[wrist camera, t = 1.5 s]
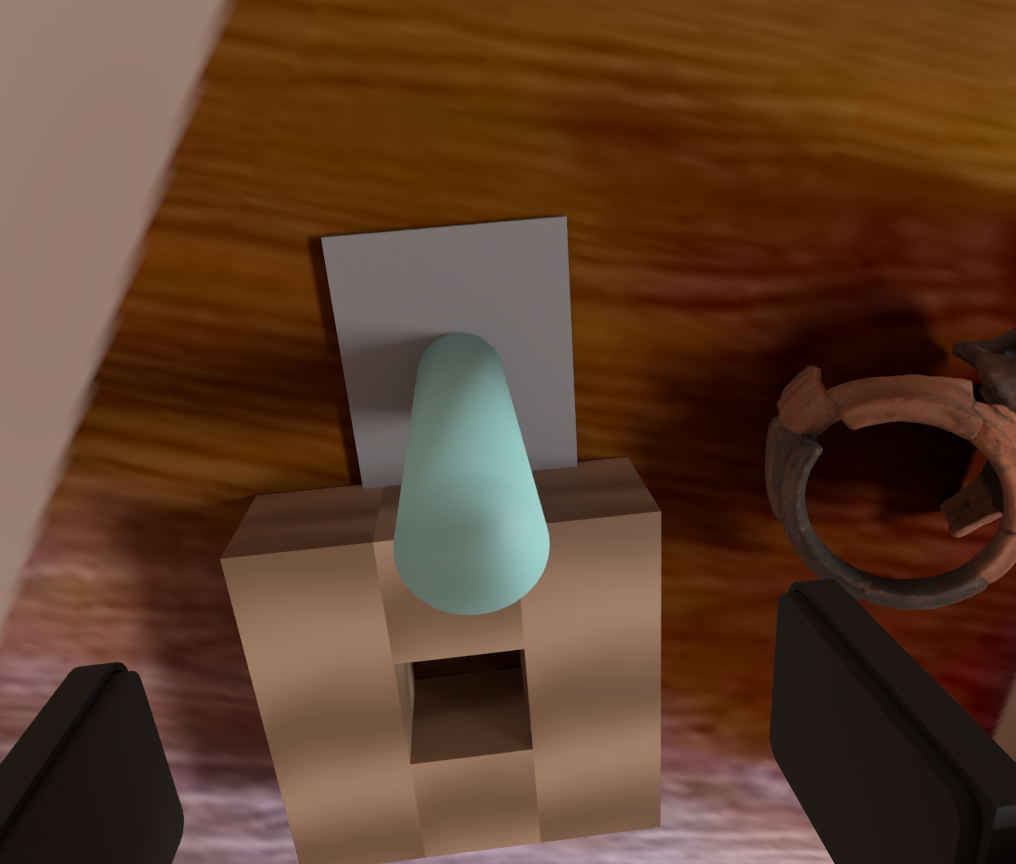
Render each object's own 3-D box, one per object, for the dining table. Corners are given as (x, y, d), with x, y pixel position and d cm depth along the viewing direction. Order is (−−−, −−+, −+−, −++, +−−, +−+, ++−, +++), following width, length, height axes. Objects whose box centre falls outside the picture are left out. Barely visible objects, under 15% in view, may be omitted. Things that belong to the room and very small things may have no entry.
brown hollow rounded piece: (913, 567, 30) (924, 686, 24) (731, 435, 32) (692, 510, 25) (1173, 348, 24) (1293, 423, 17) (932, 198, 26) (953, 212, 19)
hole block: (256, 495, 26) (220, 558, 22) (627, 456, 27) (661, 511, 23) (321, 778, 31) (302, 873, 27) (632, 739, 32) (660, 826, 28)
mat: (323, 236, 23) (321, 237, 23) (564, 215, 23) (566, 216, 23) (368, 508, 27) (367, 512, 26) (576, 485, 27) (578, 490, 27)
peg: (412, 336, 24) (382, 487, 13) (499, 328, 24) (545, 469, 13) (422, 418, 25) (404, 622, 14) (505, 410, 25) (553, 605, 14)
